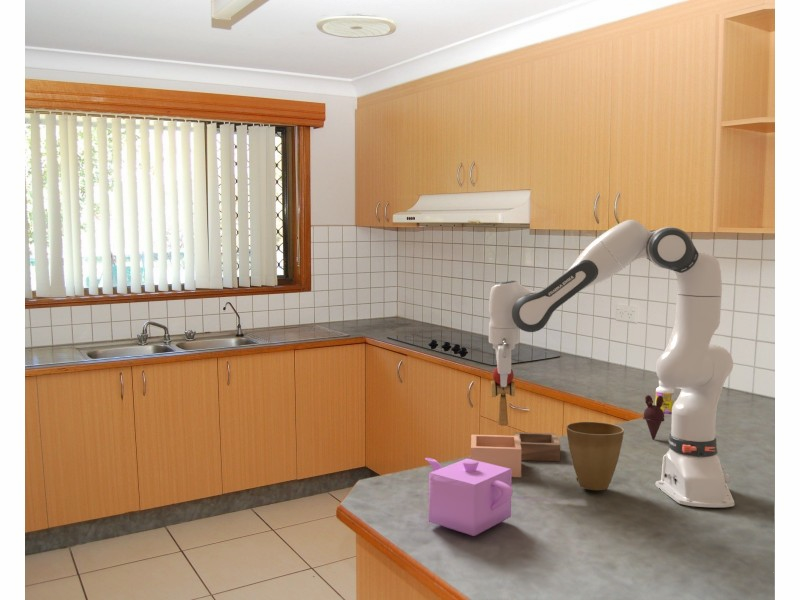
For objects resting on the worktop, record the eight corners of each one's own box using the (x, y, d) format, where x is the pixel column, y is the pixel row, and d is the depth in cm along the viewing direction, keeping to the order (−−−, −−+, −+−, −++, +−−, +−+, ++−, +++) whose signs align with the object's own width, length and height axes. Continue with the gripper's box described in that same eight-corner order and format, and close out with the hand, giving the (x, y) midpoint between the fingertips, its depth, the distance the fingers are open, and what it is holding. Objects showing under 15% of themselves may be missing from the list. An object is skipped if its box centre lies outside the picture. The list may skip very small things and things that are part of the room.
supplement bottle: (652, 414, 273) (653, 381, 272) (658, 411, 278) (659, 378, 277) (669, 417, 269) (670, 383, 268) (676, 413, 274) (677, 380, 273)
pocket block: (560, 461, 214) (560, 444, 213) (516, 459, 215) (516, 443, 215) (555, 448, 227) (555, 433, 226) (514, 447, 228) (514, 432, 228)
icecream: (644, 442, 234) (645, 397, 233) (640, 436, 241) (641, 392, 240) (666, 443, 233) (668, 397, 232) (661, 437, 240) (662, 393, 239)
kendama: (486, 426, 208) (486, 366, 205) (492, 419, 214) (493, 361, 211) (512, 429, 205) (513, 368, 202) (517, 422, 211) (518, 363, 208)
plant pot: (634, 489, 189) (636, 429, 188) (594, 499, 181) (595, 437, 180) (593, 473, 202) (594, 418, 201) (553, 482, 194) (554, 424, 193)
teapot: (444, 497, 183) (444, 443, 182) (528, 522, 167) (529, 463, 166) (405, 514, 172) (405, 457, 171) (492, 542, 155) (493, 479, 154)
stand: (521, 477, 199) (521, 449, 198) (470, 475, 200) (470, 447, 200) (518, 462, 213) (518, 435, 212) (471, 460, 214) (471, 434, 213)
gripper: (516, 341, 195) (515, 391, 196) (513, 332, 216) (512, 377, 217) (493, 341, 196) (492, 391, 197) (492, 332, 216) (492, 377, 217)
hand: (503, 384), depth 207 cm, fingers closed on kendama, 6 cm apart
